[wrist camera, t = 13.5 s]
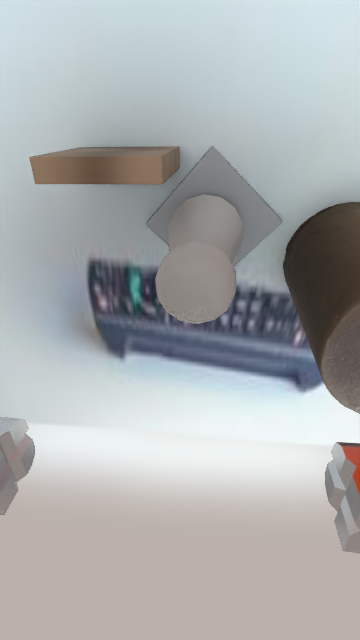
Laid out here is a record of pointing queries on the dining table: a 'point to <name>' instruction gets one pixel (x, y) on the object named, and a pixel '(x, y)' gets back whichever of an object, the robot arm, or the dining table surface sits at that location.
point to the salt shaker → (200, 260)
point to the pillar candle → (330, 295)
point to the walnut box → (106, 165)
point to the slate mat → (226, 183)
